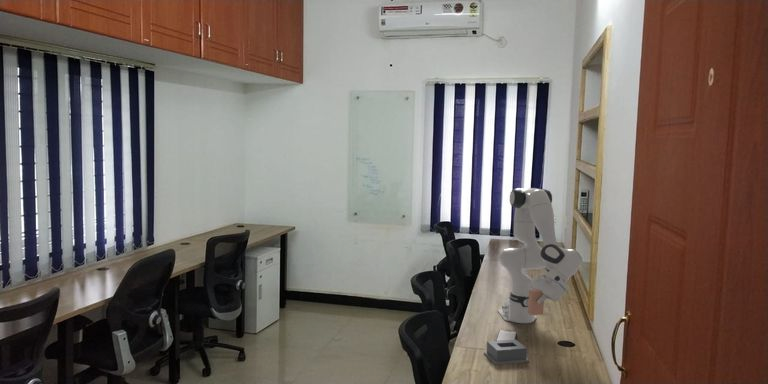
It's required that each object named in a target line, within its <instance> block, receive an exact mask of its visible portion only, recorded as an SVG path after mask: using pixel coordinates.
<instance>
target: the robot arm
mask: <svg viewBox="0 0 768 384" xmlns="http://www.w3.org/2000/svg"><path fill="white" fill-rule="evenodd" d="M509 203H510V205H511V207H513V208H515V209H514V214H513V237H514V238H515V239H516V240H517V241H518V242H520V243H523V245H524V247H522V248H521V247H507V248H503V249H502V250H501V251H500V252H499V254H498V260H499V263H500V265H501V266H502V267H503V268H505V270H506V271H507V273H508V274H509V276H510V280H511V281H510V282H511V289H510V290H511V291H509V297H508V298H507V300H505V301H504V302H503V303H502V306H501V309H498V311H497V312H498V314H499V315H500V316H501V318H502V319H503V320H504V321H507V322H512V323H518V324H533V323H534V322H535V320H537V318H538V317H537V315H530V314H529V313H528V301H529V290H531V289H539V290H541V291H542V292H541V293H543V295H542V297H540V298H538V299H537V300H536V302H537V303H538V304H540V303H541V302H542V301H547V300H548V299H549V300H551V301H552V302H554V303H556V302H558V301H559V300H561V298H563V296H564V295H565V294H566V292H568V291H569V290H570V286H569V285H568V284H567V282H568V281H569V279H570V278H571V277H572V276H574V275H575V274H576V272H578V270H579V269H580V267H581V266H582V264H583V263H584V262H583V258H582V256H581V255H580V253H579V252H578V251H577V250H576V249H575V248H574V249H573V248H570V249H568V248H564V247H561V246H558V242H557V238H556V231H555V216H554V214H555V213H554V208H553V205H552V203H553V194H552V192H551V191H550V190H548V189H546V188H542V189H541V188H536V187H531V188H530V187H529V188H525V187H524V188H520V187H517V188H514V189H512V190H511V191H510V194H509ZM536 229H537V231H538V233H539V235H540V237H541V240H542V243H543V247H541V246H540V245H539V243H538V241H537V238H536ZM541 269H545V270H546V274H542V275H539V276H537V277H536V278H535V279H534V280H533V279H532V278H531V277H530V276H529V275H527V274H525V273H523V270H541Z"/></svg>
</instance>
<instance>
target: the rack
mask: <svg viewBox="0 0 768 384" xmlns="http://www.w3.org/2000/svg"><path fill="white" fill-rule="evenodd" d="M527 353H528V348H527V347H526V346H524V345H523V344H522V343H521V342H520V341H519V340H517V338H516V339H514V340H500V341H496V340H488V341H486V351H485V350H484V351H483V355H484V356H486V357H487V358H488V359H489V360H490V361H491V363H492V364H493V365H495V366H496V365H497V366H498V365H499V366H500V365H509V364H511V365H512V364H523V363H529V362H530V359H529V358H528V357H527V355H528V354H527Z"/></svg>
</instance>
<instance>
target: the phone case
mask: <svg viewBox="0 0 768 384" xmlns="http://www.w3.org/2000/svg"><path fill="white" fill-rule="evenodd" d="M517 336H518V332H516V331H512V330H505V329H499V331H498V333H497V337H496V340H495V341H500V340H514V339H516V340H517Z"/></svg>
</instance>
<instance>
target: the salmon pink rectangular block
mask: <svg viewBox="0 0 768 384" xmlns="http://www.w3.org/2000/svg"><path fill="white" fill-rule="evenodd" d="M541 292H542V291H541V290H539V289H531V290H529V301H528V313H529V314H530V315H535V316H540V315H541V316H542V315H544V304H545V302H544V301H542V302H541V303H540V304H538V303H537V302H536V300H537V299H538V298H540V297H542V295H543V293H541Z"/></svg>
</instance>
